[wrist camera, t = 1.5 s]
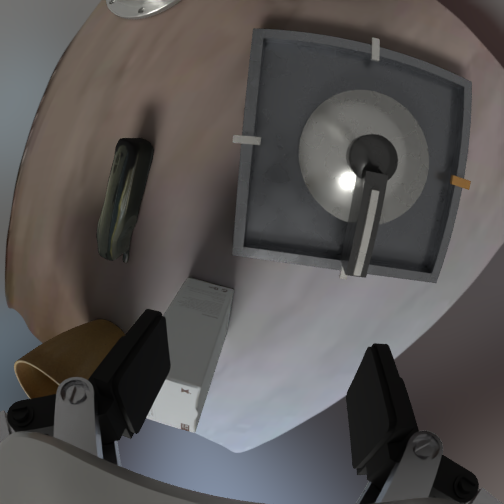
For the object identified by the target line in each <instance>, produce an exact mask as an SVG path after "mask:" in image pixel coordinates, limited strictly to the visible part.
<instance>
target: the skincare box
mask: <svg viewBox="0 0 504 504" xmlns="http://www.w3.org/2000/svg"><path fill="white" fill-rule="evenodd" d="M233 293H234V290H233V289H230V288H227V287H222V286H218V285H215V284H211V283H208V282H205V281H201V280H197V279H193V278H187V279H186V281H185V282H184V284H183V285H182V287H181V288H180V290H179V292H178V293H177V295H176V296H175V298H174V300H173V301H172V303H171V304H170V306H169V307H168V309H167V311H166V312H165V314H164V317H165V318H166V326H167V336H168V346H169V355H170V363H171V368H170V372H169V374H168V376H167V378H166V380H165V382H164V384H163V386H162V388H161V389H160V391H159V393H158V395H157V397H156V399H155V401H154V403H153V405H152V407H151V409H150V411H149V413H148V415H147V417H146V418H148V419H151V420H154V421H156V422H160V423H163V424H166V425H169V426H172V427H176V428H179V429H182V430H186V431H190V432H196V428H197V425H198V422H199V419H200V416H201V413H202V409H203V406H204V403H205V400H206V397H207V394H208V391H209V388H210V385H211V381H212V378H213V375H214V372H215V369H216V366H217V363H218V359H219V356H220V353H221V350H222V347H223V343H224V340H225V337H226V333H227V329H228V323H229V317H230V311H231V304H232V297H233Z"/></svg>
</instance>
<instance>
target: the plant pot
mask: <svg viewBox="0 0 504 504" xmlns="http://www.w3.org/2000/svg"><path fill="white" fill-rule="evenodd" d="M122 336H125V334H124V333H123V331H122V330H121V329H120V328H119V327H117V326H116V325H115V324H113V323H112V322H110V321H107V320H104V319H98V320H95V321H91V322H88V323H85V324H83V325H80V326H77V327H75V328H72V329H70V330H68V331H66V332H63V333H61V334H59V335H57V336H55V337H54V338H52V339H50V340H48V341H46V342H45V343H43V344H41V345H40V346H38V347H36V348H35V349H33V350H32V351H30V352H29V353H27V354H26V355H25V356H23V357H22V358H20V359H19V360H17V361H16V362H15V365H14V369H15V373H16V376H17V378H18V381H19V382H20V384H21V386H22V388H23V390H24V391H25V392H26V394H27V395H28V397H29V398H30V399H32V398H38V397H43V396H48V395H53V394H56V392H57V389H58V386H59V385H60V384H61V383H62V382H63V381H64V380H66V379H68V378H71V377H82V378H85V379H87V380H88V379H89V378H90V376H91V375H92V374H93V372H94V371H95V370H96V368H97V367H98V366H99V364H100V363H101V362H102V360H103V359H104V358H105V357H106V355H107V354H108V353H109V351H110V350H111V349H112V348H113V346H114V345H115V344H116V343H117V341H118V340H119V339H120V338H121V337H122Z"/></svg>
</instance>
